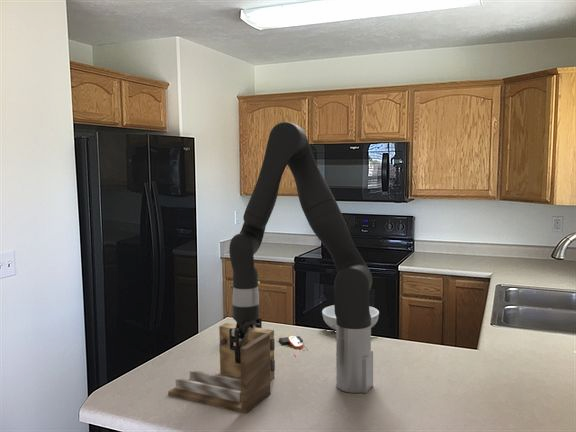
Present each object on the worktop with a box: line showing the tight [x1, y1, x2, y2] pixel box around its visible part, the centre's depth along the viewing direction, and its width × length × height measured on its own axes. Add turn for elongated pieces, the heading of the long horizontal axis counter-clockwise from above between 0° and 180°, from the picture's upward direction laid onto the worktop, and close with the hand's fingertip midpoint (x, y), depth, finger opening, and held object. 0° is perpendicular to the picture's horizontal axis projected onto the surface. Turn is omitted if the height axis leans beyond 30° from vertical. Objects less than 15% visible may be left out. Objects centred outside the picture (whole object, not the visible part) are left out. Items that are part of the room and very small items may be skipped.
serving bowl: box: [321, 304, 380, 331], centre depth 190 cm, size 21×21×7 cm
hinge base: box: [167, 334, 271, 414], centre depth 134 cm, size 24×12×16 cm, turn 63°
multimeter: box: [278, 334, 309, 358], centre depth 170 cm, size 18×12×3 cm, turn 10°
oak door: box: [218, 322, 276, 382], centre depth 146 cm, size 17×5×14 cm, turn 63°
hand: (246, 358), depth 147 cm, fingers open, 7 cm apart
